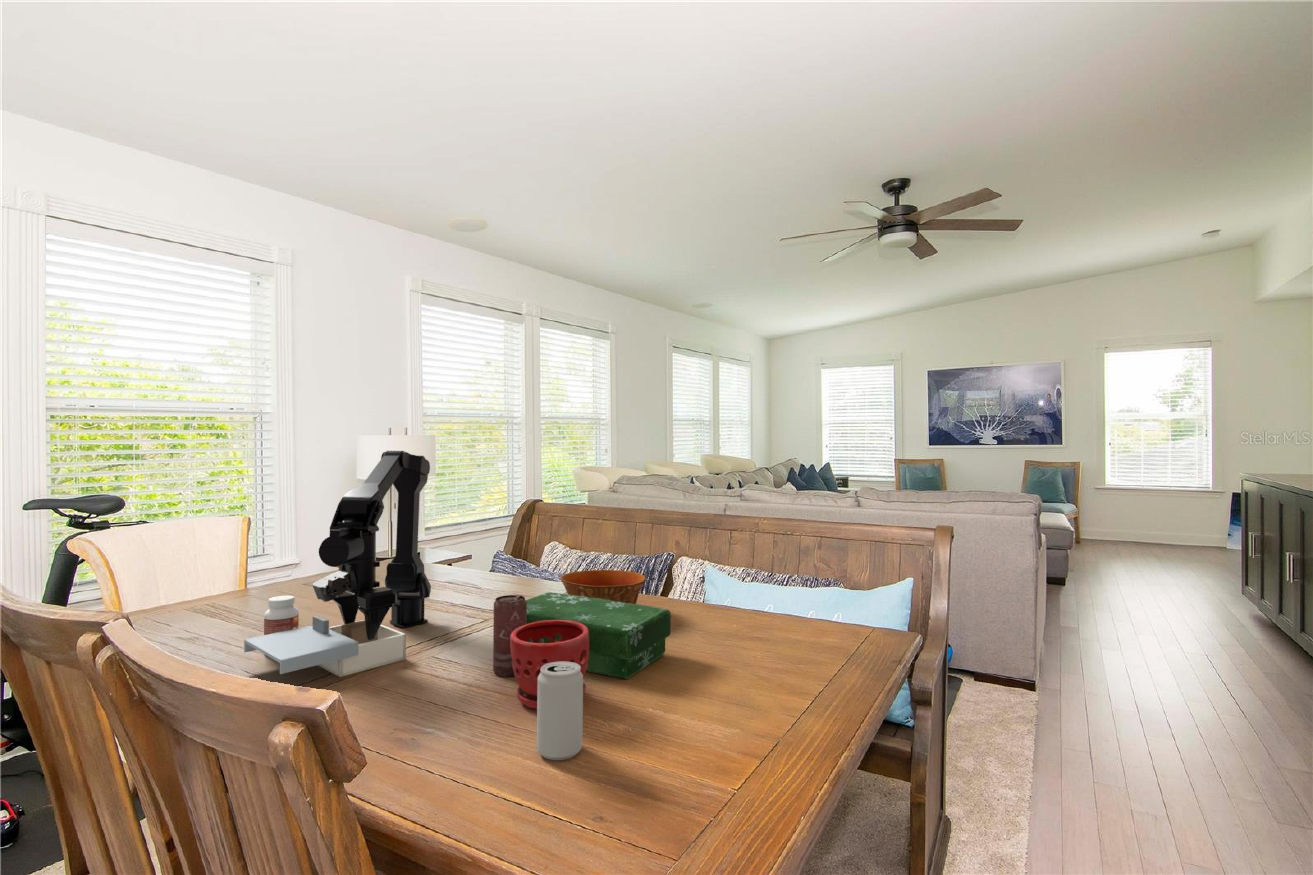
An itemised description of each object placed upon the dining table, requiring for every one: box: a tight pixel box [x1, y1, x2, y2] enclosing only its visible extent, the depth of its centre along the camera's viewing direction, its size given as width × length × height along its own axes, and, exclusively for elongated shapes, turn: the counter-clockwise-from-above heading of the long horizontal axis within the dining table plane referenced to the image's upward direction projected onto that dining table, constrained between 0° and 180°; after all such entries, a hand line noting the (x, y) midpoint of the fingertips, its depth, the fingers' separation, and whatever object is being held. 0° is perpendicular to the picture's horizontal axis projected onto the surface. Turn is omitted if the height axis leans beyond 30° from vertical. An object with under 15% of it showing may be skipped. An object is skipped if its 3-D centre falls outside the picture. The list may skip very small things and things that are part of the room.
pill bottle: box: [263, 595, 300, 635], centre depth 135 cm, size 6×6×11 cm
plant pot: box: [510, 620, 589, 710], centre depth 111 cm, size 13×13×12 cm
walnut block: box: [341, 619, 378, 644], centre depth 132 cm, size 5×5×6 cm
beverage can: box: [536, 661, 584, 761], centre depth 93 cm, size 6×6×12 cm
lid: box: [243, 615, 358, 675], centre depth 123 cm, size 13×17×5 cm
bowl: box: [560, 569, 647, 604], centre depth 163 cm, size 21×21×10 cm
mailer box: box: [317, 619, 407, 678], centre depth 131 cm, size 13×16×5 cm
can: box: [492, 594, 527, 678], centre depth 124 cm, size 6×6×14 cm
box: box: [525, 591, 672, 680], centre depth 134 cm, size 32×18×10 cm, turn 62°
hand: (359, 634), depth 132 cm, fingers open, 9 cm apart
